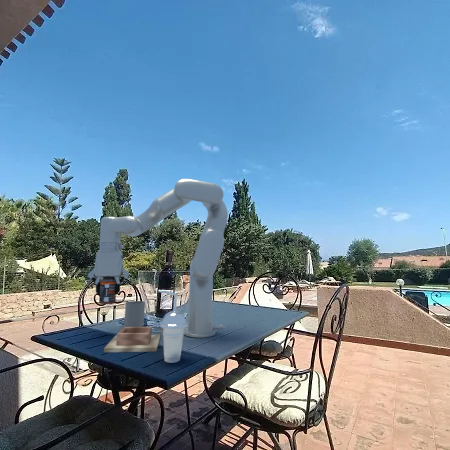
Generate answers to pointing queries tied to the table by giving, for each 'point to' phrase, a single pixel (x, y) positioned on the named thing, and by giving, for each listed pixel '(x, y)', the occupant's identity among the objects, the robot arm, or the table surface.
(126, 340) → the bottle holder
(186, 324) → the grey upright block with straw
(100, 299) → the supplement bottle
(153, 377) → the table surface
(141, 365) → the table surface
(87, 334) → the table surface
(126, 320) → the grey upright block
